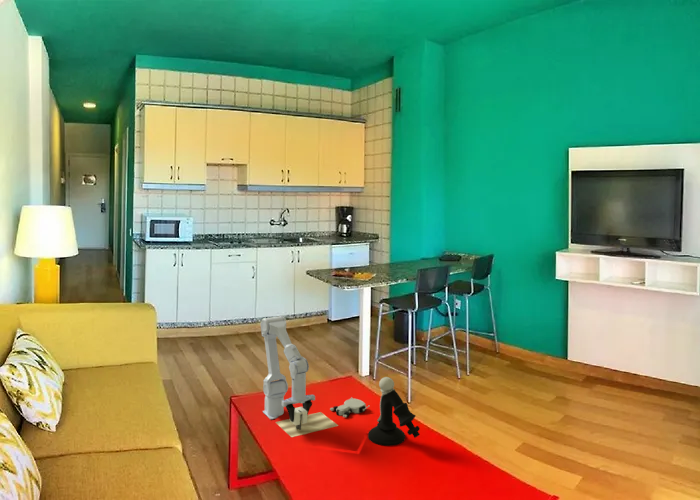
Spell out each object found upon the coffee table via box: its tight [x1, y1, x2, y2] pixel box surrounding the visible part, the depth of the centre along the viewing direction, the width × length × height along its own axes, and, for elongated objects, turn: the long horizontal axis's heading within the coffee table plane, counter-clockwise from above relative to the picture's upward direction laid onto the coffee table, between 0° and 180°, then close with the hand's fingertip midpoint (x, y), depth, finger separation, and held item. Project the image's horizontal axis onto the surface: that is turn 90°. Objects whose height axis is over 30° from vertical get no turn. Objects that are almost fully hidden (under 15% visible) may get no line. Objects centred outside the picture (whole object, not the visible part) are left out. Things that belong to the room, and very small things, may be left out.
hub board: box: [275, 411, 339, 438], centre depth 223 cm, size 16×22×4 cm
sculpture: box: [367, 376, 420, 447], centre depth 210 cm, size 15×24×25 cm, turn 46°
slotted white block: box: [292, 406, 307, 426], centre depth 218 cm, size 5×5×5 cm
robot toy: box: [329, 396, 371, 418], centre depth 237 cm, size 12×4×15 cm
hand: (298, 419), depth 218 cm, fingers closed on slotted white block, 5 cm apart
